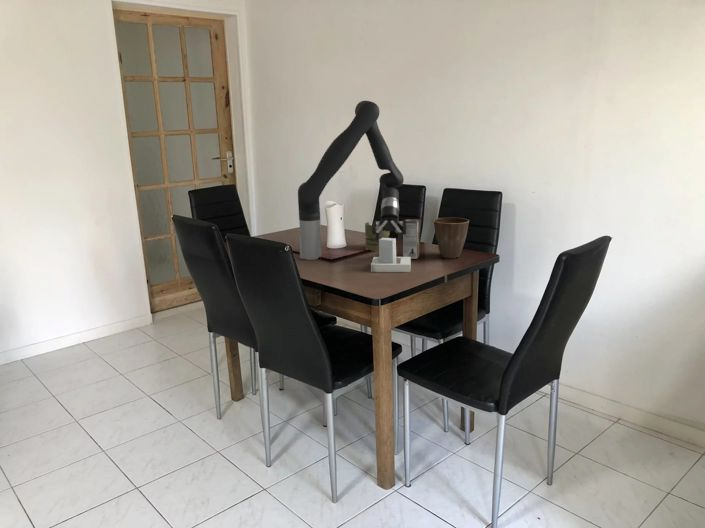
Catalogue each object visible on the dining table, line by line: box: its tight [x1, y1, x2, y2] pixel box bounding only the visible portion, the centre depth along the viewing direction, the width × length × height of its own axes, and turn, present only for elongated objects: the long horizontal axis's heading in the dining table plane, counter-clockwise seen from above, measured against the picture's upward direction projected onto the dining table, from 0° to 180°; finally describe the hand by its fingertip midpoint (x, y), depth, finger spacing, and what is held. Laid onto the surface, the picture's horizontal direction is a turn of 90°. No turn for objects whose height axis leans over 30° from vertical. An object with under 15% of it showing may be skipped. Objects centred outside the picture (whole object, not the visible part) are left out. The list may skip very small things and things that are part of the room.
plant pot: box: [433, 217, 470, 259], centre depth 240 cm, size 15×15×16 cm
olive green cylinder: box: [364, 221, 390, 252], centre depth 260 cm, size 11×12×11 cm
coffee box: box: [402, 218, 420, 260], centre depth 241 cm, size 9×6×16 cm
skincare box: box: [378, 237, 397, 264], centre depth 226 cm, size 6×4×12 cm
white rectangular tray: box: [370, 256, 412, 273], centre depth 227 cm, size 16×13×3 cm
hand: (388, 242), depth 230 cm, fingers open, 8 cm apart
